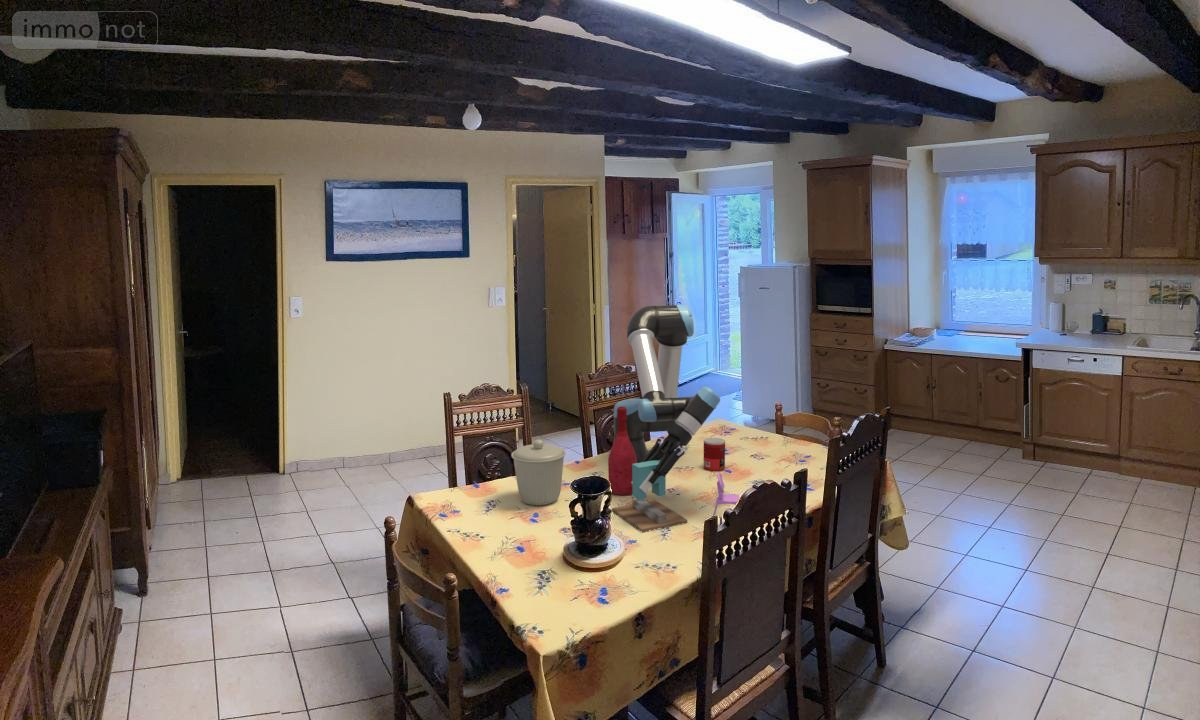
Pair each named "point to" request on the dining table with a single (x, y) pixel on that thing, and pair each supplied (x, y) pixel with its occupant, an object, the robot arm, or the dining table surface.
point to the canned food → (714, 454)
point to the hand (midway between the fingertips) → (638, 487)
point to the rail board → (645, 519)
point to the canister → (539, 472)
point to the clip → (639, 476)
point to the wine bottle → (621, 458)
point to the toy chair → (724, 497)
